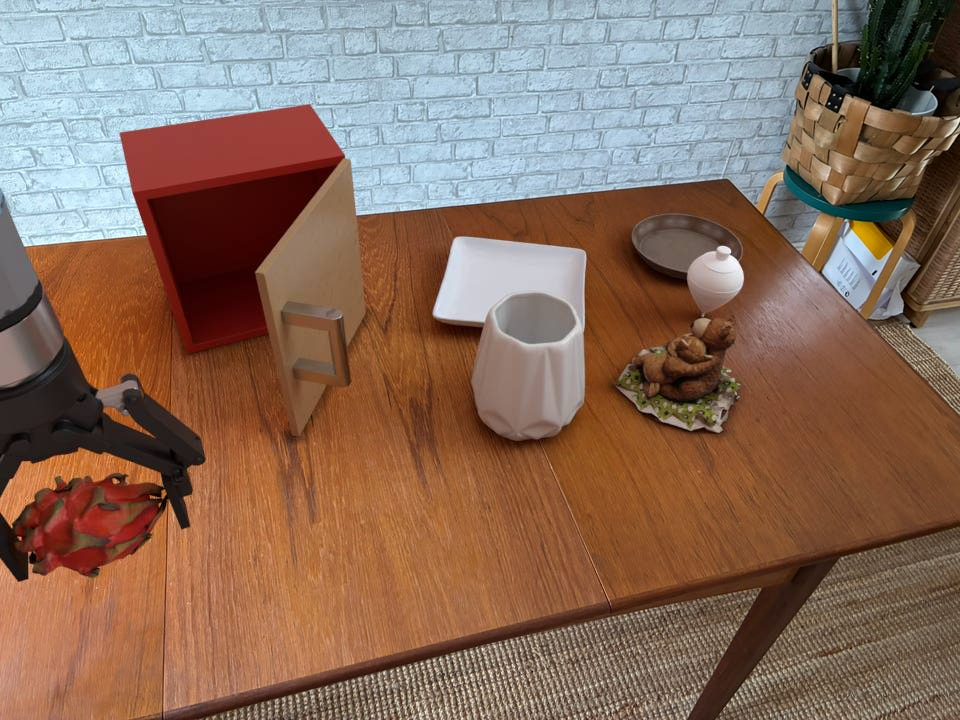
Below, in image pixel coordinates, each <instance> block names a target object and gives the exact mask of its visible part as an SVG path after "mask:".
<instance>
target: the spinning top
mask: <svg viewBox="0 0 960 720" xmlns="http://www.w3.org/2000/svg"><path fill="white" fill-rule="evenodd" d="M730 253H731V249H730V248H728V247H726V246H719V247H718V248H717V250H716V251H712V252H707V253H705V254H704V255H702V256H700V257H698V258H697V259H696V260H694V261H693V263H692V264H691V265H690V267H689V269H688V274H687V280H686V282H687V287H688V289H689V292H690V293H689V294H690V295H691V297H692V299H693V301H694V303H695V305H696V307H697V308H698V309H699V310H700V312H701V318H705V315H706V314H709V313H710V312H713V311H715V310H717V309H719V308H721V307H722V306H724V305H726V304H727V303H729V302H730V301H731V300H733V299H734V298H735V297H736V296H737V295H738V294H739V292H740V291H741V290H742V288H743V285H744V281H745V275H744V270H743V268H742V266H741V264H740V261H739V262H738V261H737V259H735V258H734V257H733V256H731V255H730Z"/></svg>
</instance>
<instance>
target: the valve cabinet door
mask: <svg viewBox="0 0 960 720" xmlns="http://www.w3.org/2000/svg"><path fill="white" fill-rule="evenodd" d="M357 218H358V217H357V209H356V199H355V188H354V179H353V168H352V159H351V158H345V159H342V161H341V162H340V163H339V165H338V166H337V167H336V168H335V170H334V171H333V172H332V174H331V175H330V176H329V178H328V179H327V180H326V181H325V183H324V184H323V185H322V187H321V188H320V189H319V190H318V192H317V193H316V194H315V196H314V197H313V198H312V199H311V201H310V202H309V203H308V205H307V206H306V207H305V208H304V210H303V211H302V212H301V214H300V215H299V216H298V218H297V219H296V220H295V221H294V223H293V224H292V225H291V227H290V228H289V229H288V230H287V232H286V233H285V234H284V236H283V237H282V238H281V239H280V241H279V242H278V243H277V245H276V246H275V247H274V248H273V250H272V251H271V252H270V254H269V255H268V256H267V257H266V259H265V260H264V261H263V263H262V264H261V265H260V267H259V268H258V269H257V270H256V272H255V275H256V279H257V283H258V288H259V292H260V297H261V301H262V306H263V310H264V314H265V319H266V323H267V328H268V332H269V334H268V336H269V342H270V346H271V351H272V355H273V358H274V362H275V366H276V372H277V376H278V380H279V384H280V389H281V394H282V397H283V403H284V407H285V411H286V417H287V420H288V425H289V429H290V434H291V436H292V437H293V436H294V437H297V438H299V437H301V435H302V433H303V431H304V429H305V427H306V426H307V423H308V421H309V419H310V418H311V416H312V414H313V412H314V410H315V408H316V406H317V405H318V403H319V401H320V399H321V398H322V395H323V393H324V391H325V390H326V388H327V386H332V387H337V388H347V387H349V386H350V385H351V383H352V375H351V366H350V358H349V351H348V347H349V345H350V343H351V341H352V340H353V338H354V336H355V334H356V332H357V331H358V329H359V327H360V325H361V323H362V321H363V319H364V318H365V315H366V313H367V309H366V299H365V289H364V280H363V270H362V268H363V267H362V262H361V261H362V259H361V258H362V257H361V249H360V239H359V230H358V229H359V228H358V219H357Z"/></svg>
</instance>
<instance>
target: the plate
mask: <svg viewBox="0 0 960 720" xmlns="http://www.w3.org/2000/svg"><path fill="white" fill-rule="evenodd" d="M586 267H587V253H586V251H585V250H584V249H581V248H576V247H575V248H574V247H567V246H559V245H558V246H557V245H549V244H539V243H532V242H531V243H530V242H521V241H511V240H502V239H494V238H493V239H492V238H485V237H484V238H483V237H474V236H456V237H455V238H453V240H452V243H451V246H450V249H449V254H448V259H447V264H446V268H445V271H444V274H443V277H442V281H441V284H440V286H439V287H440V288H439V290H438V293H437V296H436V299H435V303H434V305H433V309H432V314H431V315H432V317H433V318H434V319H435V320H437V321H438V322H441V323H442V324H443V323H444V324H448V325H454V326H466V327H473V328H474V327H475V328H483V327H484V323H485V319H486V316H487V314H488V312H489V310H490V309H491V308H492V307H493V306H494V305H495V304H496V303H497V302H499V301H500V300H501V299H502V298H503V297H505V296H506V295H508V294H511V293H514V292H519V291H524V292H526V291H543V292H547V293H551V294H554V295H555V296H556V297H561V298H563V299H565V300H566V301H567V302H569V303H570V304H571V305H572V306H573V307H574V308H575V310H576V312H577V316H578V317H579V319H580V321H581V324H582V328H583V333H584V332H585V327H586V326H585V323H586V310H585V305H586V304H585V302H586V301H585V285H586Z"/></svg>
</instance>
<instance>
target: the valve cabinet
mask: <svg viewBox="0 0 960 720" xmlns="http://www.w3.org/2000/svg"><path fill="white" fill-rule="evenodd" d="M118 133H119V138H120V142H121V147H122V152H123V155H124V160H125V161H124V162H125V165H126V170H127V175H128V179H129V184H130V188H131V193H132V196H133V199H134V202H135V205H136V208H137V211H138V213H139V216H140V220H141V223H142V226H143V228H144V232H145V235H146V237H147V240H148V243H149V246H150V248H151V252H152V255H153V258H154V260H155V261H154V262H155V263H156V266H157V269H158V272H159V276H160V278H161V281H162V284H163V287H164V290H165V293H166V297H167V299H168V302H169V306H170V308H171V311H172V314H173V316H174V317H173V318H174V320H175V322H176V323H175V324H176V326H177V328H178V331H179V334H180V337H181V341H182V343H183V346H184V349H185V352H186V355H190V354H193V353H197V352H202V351H205V350H209V349H212V348H213V349H214V348H216V347H221V346H226V345H229V344H233V343H236V342H237V343H238V342H241V341H245V340H248V339H252V338H256V337H261V336H264V335H269V332H268V328H267V323H266V319H265V314H264V310H263V306H262V301H261V297H260V292H259V288H258V283H257V279H256V275H255V272H256V270H257V269H258V268H259V267H260V265H261V264H262V263H263V261H264V260H265V259H266V257H267V256H268V255H269V254H270V252H271V251H272V250H273V248H274V247H275V246H276V245H277V243H278V242H279V241H280V239H281V238H282V237H283V236H284V234H285V233H286V232H287V230H288V229H289V228H290V227H291V225H292V224H293V223H294V221H295V220H296V219H297V218H298V216H299V215H300V214H301V212H302V211H303V210H304V208H305V207H306V206H307V205H308V203H309V202H310V201H311V199H312V198H313V197H314V196H315V194H316V193H317V192H318V190H319V189H320V188H321V187H322V185H323V184H324V183H325V181H326V180H327V179H328V178H329V176H330V175H331V174H332V172H333V171H334V170H335V168H336V167H337V166H338V165H339V163H340V162H341V161H342V159H346V154H345V153H344V151H343V150H342V148H341V147H340V145H339V144H338V143H337V141H336V140H335V138H334V137H333V135H332V133H331V132H330V131H329V130H328V128H327V127H326V125H325V124H324V122H323V120H322V119H321V118H320V116H319V115H318V113H317V112H316V110H315V109H314V108H313V106H312V105H311V104H310V103H309V104H308V103H307V104H301V105H294V106H290V107H289V106H288V107H281V108H273V109H268V110H262V111H255V112H249V113H248V112H247V113H242V114H241V113H240V114H234V115H228V116H227V115H226V116H222V117H221V116H219V117H215V118H207V119H200V120H195V121H187V122H180V123H173V124H168V125H162V126H161V125H160V126H154V127H146V128H141V129H140V128H139V129H133V130H126V131H121V132H118Z"/></svg>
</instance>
